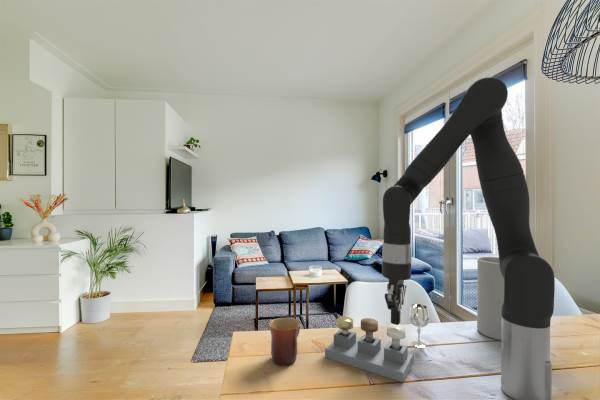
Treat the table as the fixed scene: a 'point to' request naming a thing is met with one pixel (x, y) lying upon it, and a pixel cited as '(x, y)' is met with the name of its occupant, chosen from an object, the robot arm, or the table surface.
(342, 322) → the gold faceted knob
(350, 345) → the grey key socket base
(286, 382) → the table surface
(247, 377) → the table surface
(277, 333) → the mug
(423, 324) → the wineglass
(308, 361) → the table surface
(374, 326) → the walnut key
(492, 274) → the cylinder vase
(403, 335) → the cream key
